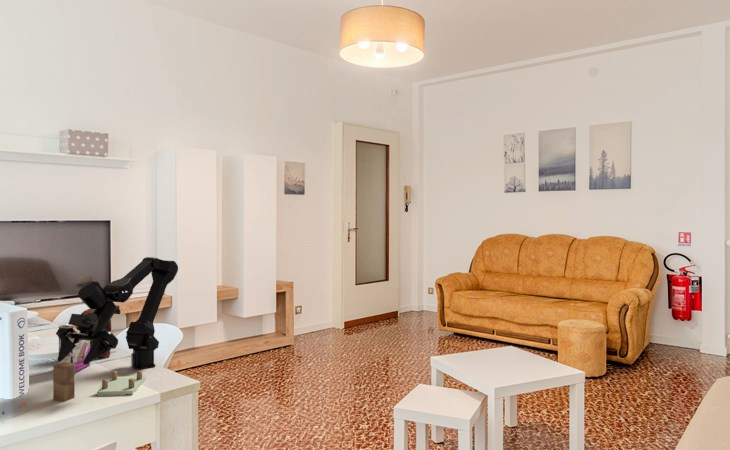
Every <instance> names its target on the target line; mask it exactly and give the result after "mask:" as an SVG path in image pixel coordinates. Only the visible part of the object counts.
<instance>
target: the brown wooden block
mask: <svg viewBox="0 0 730 450" xmlns="http://www.w3.org/2000/svg"><path fill="white" fill-rule="evenodd" d="M52 366H53V367H52V368H53V369H52V371H53V373H52V374H53V375H52V376H53V379H52V380H53V383H52V384H53V385H52V386H53V387H52V388H53V390H52V391H53V395H52V396H53V397H52V398H53V401H54V402H55V401H57V402H62V403H63V402H64V403H65V402H67V401H70V400H72V399H75V392H76V391H75V387H76V385H75V382H76V381H75V374H76V373H75V364H74V363H65V362H63V363H60V364H59V363H56V364H54V365H52Z"/></svg>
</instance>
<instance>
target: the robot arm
mask: <svg viewBox="0 0 730 450" xmlns="http://www.w3.org/2000/svg"><path fill="white" fill-rule="evenodd" d="M178 271H179V265H178V263H177V262H176V261H174V260H164V259H160V258H157V257H154V256H151V257H150V256H146V257H144V258H142V260H141V262H139V263H138V264H137V265H136V266H135V267H133V268H132V269H131V270H130V271H129V272H128V273H126V274H125V275H124V276H123V277H121V278H119V279H116V280H113V281H111V282H110V283H108V284H106V285H105V286H104V287H102V286H101V284H100V283H99V282H98V281H95V280H94V281H91V282H90V283H89V284H86V285H84V286H83V287H81V288H80V289H79V291H78V293H77V297H78V298H79V299H80V300H81V301H82V302H83V304H85V305H86V306H87V307H88V309H94V311H93V312H92V313H88V315H82V314H81V313H71V315H70V317H69V320H68V322H67V323H68V324H69V325H74V326H77V327H76V329H77V330H79V331H80V333H77V332H76V331H75V330H74V329H73V328H69V327H61V328H59V327H58V329H57V331H56V332H55V334H56V336H57V338H58V340H59V339H60V340H61V347H60V351H59V350H58V355H57V361H58V363H59V362H61V361H62V360H63V359H64V358H65V357H66V356H67V355H68V354H69V353H70V352H71V351H72V350H73V349H74V348H75V347H76V345H75V344H76V343H78V342H79V340H88V341H93V345H92V347H91V349H90V351H89V352H88V354H87V356H86V357H85V359H84V362H83V364H84V365H86V364H88V363H89V362H90V363H91V362H92V361H94V360H96V359H95V358H97V357H98V356H100V355H101V354H103V353H105V352H106V351H110V352H111V350H112V349H113V350H115V349H116V348H117V345H119V339H118V337H116V336H115V334H114V333H113V332H112V330H111V331H104V329H108V328H109V325H108V323H109V321H110V319H111V320H112V318H113V316H114V315H121V312H122V311H121V309H120V305H116V304H115V303H126V302H127V301H128V300H129V298H131V296H132V295H133V294H134V289H135V287H136V286H138V285H139V284H140V283H141V282H142V281H143V280H144V279H145V278H146V277H148V276H149V275H150V274H151V278H152V282H151V286H150V287H149V288H150V289H149V291H148V294H147V296H146V299H145V302H144V304H143V307H142V309H141V311H140V314H139V317H138V319H136V321H131V322H130V323H129V326H128V328H127V331H126V332H125V333H126V336H125V340H126V343H127V347H128V350H132V353H131V355H130V358H131V359H130V360H131V361H130V363H131V366H132V367H133V368H134V369H135V370H142V369H148V368H154V367H156V364H155V351H156V350H157V349H158V348H159V344H160V341H159V340H158V338H156V337H155V331H156V330H155V324H154V321H155V319H156V316H157V314H158V310H159V308H160V305H161V302H162V300H163V297H164V294H165V292H166V288H167V286H168V285H169V284H170V283H171V282H172V281H174V280H175V277H176V276H177V273H178Z"/></svg>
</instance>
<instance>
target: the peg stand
mask: <svg viewBox="0 0 730 450" xmlns="http://www.w3.org/2000/svg"><path fill="white" fill-rule="evenodd" d="M110 373H111V374H110V376H111V379H108V378H104V379H102V380H101V386H102V387H100V388H99V389H98V390H97V391H96V396H97V397H98V396H99V397H102V396H127V395H126V394H133V393H134V392H135V391H136V392H137V390H138V389H139V388H140V387H141V386H142V385H143V384H144V382H146V380H147V375H143V370H142V369H139V370H136V375H132V376H131V375H129V376H127V375H126V376H118V371H117V370H112V371H111V372H110ZM140 385H141V386H140ZM139 386H140V387H139ZM138 387H139V388H138ZM137 388H138V389H137ZM136 389H137V390H136ZM136 392H135V393H136ZM135 393H134V394H135ZM134 394H133V395H134Z"/></svg>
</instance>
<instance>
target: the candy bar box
mask: <svg viewBox="0 0 730 450" xmlns="http://www.w3.org/2000/svg"><path fill="white" fill-rule="evenodd" d="M68 323H69V322H66V323H63V324H60V325H58V329H59V328H61V327H69V328H73V329H74V330H75V331H76V332H77V333H80V331H79V330H77V329H76V327H77V326H74V325H69V324H68ZM75 345H76V347H75V348H74V349H73V350H72V351H71V352H70V353H69V354H68V355H67V356H66V357H65V358H64V359H63V360H62V361H61V362H59V361H58V364H60V363H63V362H65V363H74V364H75V374H77V373H78V372H80V371H82V370H84V369H85V368H87V367H90V365H91V362H89V363H88V364H86V365H84V364H83V362H84V359H85V357H86V356H87V354H88V352H89V351H90V341H88V340H79V342H78V343H76V344H75ZM60 347H61V340H60V339H59V338H58V352H59V351H60Z"/></svg>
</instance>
